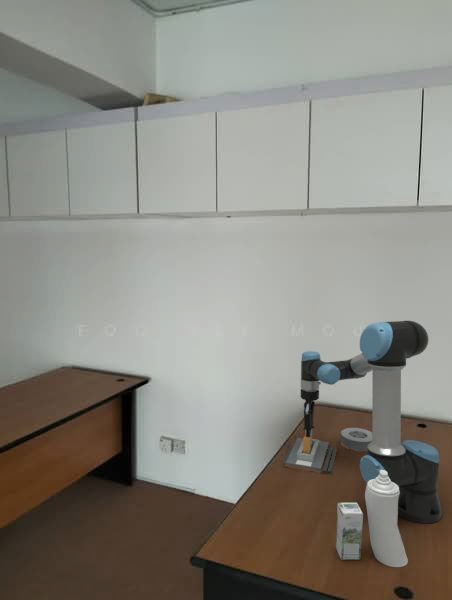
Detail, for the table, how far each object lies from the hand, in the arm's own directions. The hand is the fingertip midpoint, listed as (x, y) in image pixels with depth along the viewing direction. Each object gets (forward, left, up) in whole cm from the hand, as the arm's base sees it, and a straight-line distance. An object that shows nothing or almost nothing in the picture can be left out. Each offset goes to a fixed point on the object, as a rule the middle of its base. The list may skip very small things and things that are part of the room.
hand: (308, 443), depth 193 cm
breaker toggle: (-3, 0, -4) cm, 5 cm away
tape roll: (+22, -19, -7) cm, 30 cm away
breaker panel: (+2, -1, -6) cm, 7 cm away
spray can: (-54, -31, -7) cm, 63 cm away
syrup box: (-57, -21, -7) cm, 61 cm away
